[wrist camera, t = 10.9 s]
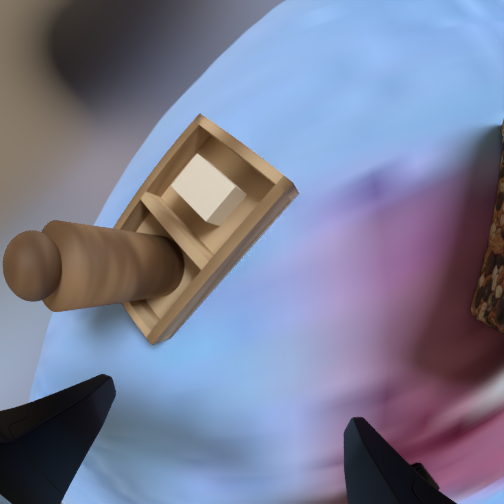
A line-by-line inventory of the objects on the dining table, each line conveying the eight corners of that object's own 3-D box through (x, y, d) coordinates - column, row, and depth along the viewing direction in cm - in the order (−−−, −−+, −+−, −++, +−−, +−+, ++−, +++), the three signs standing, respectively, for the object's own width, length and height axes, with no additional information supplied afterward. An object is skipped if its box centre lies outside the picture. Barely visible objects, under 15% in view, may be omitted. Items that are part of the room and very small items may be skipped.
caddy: (299, 193, 20) (292, 182, 17) (170, 337, 23) (151, 345, 20) (214, 127, 22) (199, 113, 20) (114, 260, 25) (94, 259, 23)
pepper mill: (190, 290, 22) (26, 314, 8) (143, 299, 23) (-1, 320, 10) (178, 228, 22) (20, 197, 9) (133, 244, 24) (-8, 231, 10)
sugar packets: (247, 194, 20) (235, 186, 18) (220, 226, 21) (205, 221, 19) (211, 163, 22) (197, 153, 19) (186, 192, 22) (170, 185, 20)
